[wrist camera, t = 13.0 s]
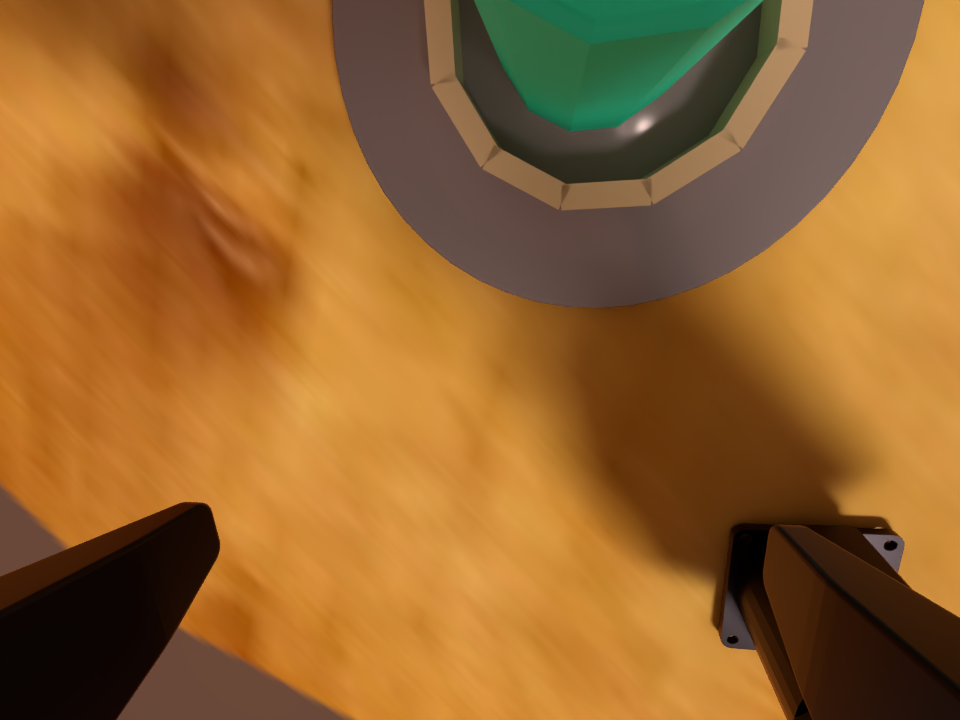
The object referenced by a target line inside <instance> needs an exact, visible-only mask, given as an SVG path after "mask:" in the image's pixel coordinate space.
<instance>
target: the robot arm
mask: <svg viewBox="0 0 960 720" xmlns="http://www.w3.org/2000/svg"><path fill="white" fill-rule="evenodd" d="M745 534H747V535H748V536H747V537H746V538H740V537H741V536H742V535H745ZM887 541H890V542H889V543H888V544H885V543H886V542H887ZM903 550H904V541H903V539H902V538H901V537H900V536H899V535H898V534H897V533H896V532H894V531H893V530H889V529H871V528H855V527H842V526H816V525H778V524H777V525H768V524H738V525H736V526H734V527H733V528H732V529H731V532H730V538H729V546H728V555H727V563H726V572H725V580H724V589H723V597H722V606H721V614H720V623H719V631H718V632H719V636H720V639H721V642H722V643H723V645H725V646H726V647H729V648H737V649H750V650H757V653H758V655H759V657H760V659H761V662H762V664H763V666H764V669H765V671H766V673H767V675H768V678H769V680H770V682H771V684H772V687H773V689H774V691H775V694H776V696H777V698H778V700H779V703H780V705H781V707H782V709H783V712H784V714H785V716H786V719H787V720H960V618H959V617H958V616H956V615H954V614H953V613H951V612H949V611H948V610H946V609H944V608H942V607H941V606H939V605H937V604H936V603H934V602H932V601H931V600H929V599H927V598H926V597H924V596H922V595H920V594H919V593H917V592H915V591H914V590H912V588H911V587H910V586H909V585H908V584H907V583H906V582H905V581H904V580H903V578H902V577H901V576H900V575H899V574H898V570H899V566H900V562H901V558H902V554H903ZM219 551H220V540H219V536H218V532H217V529H216V525H215V521H214V517H213V513H212V510H211V508H210V507H209V506H208V505H207V504H205V503H198V502H183V503H179V504H177V505H174V506H172V507H169V508H167V509H165V510H162V511H160V512H157V513H155V514H152V515H150V516H147V517H145V518H143V519H140V520H138V521H135V522H133V523H130V524H128V525H125V526H123V527H121V528H118V529H116V530H113V531H111V532H108V533H106V534H103V535H101V536H98V537H96V538H94V539H91V540H89V541H86V542H84V543H81V544H79V545H76V546H74V547H72V548H69V549H67V550H64V551H62V552H59V553H57V554H54V555H52V556H50V557H47V558H45V559H42V560H40V561H37V562H35V563H32V564H30V565H28V566H25V567H23V568H20V569H18V570H15V571H13V572H11V573H8V574H6V575H3V576H1V577H0V720H117V719H118V717H119V716H120V714H121V713H122V711H123V710H124V708H125V707H126V705H127V704H128V703H129V701H130V700H131V698H132V697H133V695H134V694H135V692H136V691H137V689H138V688H139V686H140V685H141V683H142V682H143V681H144V679H145V678H146V676H147V675H148V673H149V672H150V670H151V669H152V667H153V666H154V664H155V663H156V661H157V660H158V658H159V657H160V655H161V654H162V652H163V651H164V649H165V648H166V646H167V645H168V643H169V641H170V640H171V638H172V636H173V635H174V633H175V631H176V630H177V628H178V626H179V624H180V623H181V621H182V619H183V617H184V616H185V614H186V612H187V610H188V609H189V607H190V605H191V603H192V602H193V600H194V598H195V596H196V594H197V593H198V591H199V589H200V587H201V586H202V584H203V582H204V580H205V579H206V577H207V575H208V573H209V572H210V570H211V568H212V566H213V564H214V563H215V561H216V559H217V557H218V554H219ZM732 635H734V636H732ZM729 636H732V637H729Z"/></svg>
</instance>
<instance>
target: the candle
mask: <svg viewBox="0 0 960 720" xmlns="http://www.w3.org/2000/svg"><path fill="white" fill-rule="evenodd" d="M762 1H763V0H474V2H475V4H476V6H477V9H478V11H479V13H480V16H481V18H482V20H483V23H484V25H485V27H486V30H487V32H488V34H489V37H490V39H491V41H492V44H493V46H494V48H495V51H496V53H497V55H498V58H499V60H500V62H501V65H502V67H503V69H504V71H505V73H506V74H507V76H508V77H509V79H510V81H511V82H512V84H513V86H514V87H515V89H516V91H517V92H518V94H519V96H520V97H521V99H522V100H523V102H524V104H525V105H526V107H527V109H528V110H529V111H530V112H532V113H534V114H536V115H538V116H540V117H542V118H544V119H546V120H548V121H550V122H552V123H554V124H556V125H558V126H559V127H561V128H563V129H565V130H567V131H569V132H574V131H583V130H593V129H602V128H611V127H618V126H620V125H621V124H622V123H624V122H625V121H627V120H628V119H629V118H631V117H632V116H634V115H635V114H636V113H638V112H639V111H640V110H642V109H643V108H645V107H646V106H647V105H649V104H650V103H652V102H653V101H654V100H656V99H657V98H659V97H660V96H661V95H662V94H663V93H664V92H666V91H667V90H668V89H669V88H670V87H671V86H672V85H673V84H674V83H675V82H676V81H677V80H678V79H680V78H681V77H682V76H683V75H684V74H685V73H686V72H687V71H688V70H689V69H690V68H691V67H692V66H694V65H695V64H696V63H697V62H698V61H699V60H700V59H701V58H702V57H703V56H704V55H705V54H706V53H707V52H709V51H710V50H711V49H712V48H713V47H714V46H715V45H716V44H717V43H718V42H719V41H720V40H721V39H723V38H724V37H725V36H726V35H727V34H728V33H729V32H730V31H731V30H732V29H733V28H734V27H735V26H737V25H738V24H739V23H740V22H741V21H742V20H743V19H744V18H745V17H746V16H747V15H748V14H749V13H751V12H752V11H753V10H754V9H755V8H756V7H757V6H758V5H759V4H760V3H761V2H762Z"/></svg>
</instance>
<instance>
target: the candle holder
mask: <svg viewBox="0 0 960 720" xmlns="http://www.w3.org/2000/svg"><path fill="white" fill-rule="evenodd" d="M923 4H924V0H763V1H762V2H761V3H760V4H759V5H758V6H757V7H756V8H755V9H754V10H753V11H752V12H751V13H749V14H748V15H747V16H746V17H745V18H744V19H743V20H742V21H741V22H740V23H739V24H738V25H737V26H735V27H734V28H733V29H732V30H731V31H730V32H729V33H728V34H727V35H726V36H725V37H724V38H723V39H721V40H720V41H719V42H718V43H717V44H716V45H715V46H714V47H713V48H712V49H711V50H710V51H709V52H707V53H706V54H705V55H704V56H703V57H702V58H701V59H700V60H699V61H698V62H697V63H696V64H695V65H694V66H692V67H691V68H690V69H689V70H688V71H687V72H686V73H685V74H684V75H683V76H682V77H681V78H680V79H678V80H677V81H676V82H675V83H674V84H673V85H672V86H671V87H670V88H669V89H668V90H667V91H666V92H664V93H663V94H662V95H661V96H660V97H659V98H657V99H656V100H654V101H653V102H652V103H650V104H649V105H647V106H646V107H645V108H643V109H642V110H640V111H639V112H638V113H636V114H635V115H634V116H632V117H631V118H629V119H628V120H627V121H625V122H624V123H622V124H621V125H620V126H618V127H611V128H602V129H593V130H583V131H574V132H569V131H567V130H565V129H563V128H561V127H559V126H558V125H556V124H554V123H552V122H550V121H548V120H546V119H544V118H542V117H540V116H538V115H536V114H534V113H532V112H530V111H529V110H528V109H527V107H526V105H525V104H524V102H523V100H522V99H521V97H520V96H519V94H518V92H517V91H516V89H515V87H514V86H513V84H512V82H511V81H510V79H509V77H508V76H507V74H506V73H505V71H504V69H503V67H502V65H501V62H500V60H499V58H498V55H497V53H496V51H495V48H494V46H493V44H492V41H491V39H490V37H489V34H488V32H487V30H486V27H485V25H484V23H483V20H482V18H481V16H480V13H479V11H478V9H477V6H476V4H475V2H474V0H333V15H332V19H333V32H334V45H335V58H336V63H337V69H338V74H339V79H340V85H341V90H342V96H343V99H344V102H345V105H346V109H347V112H348V115H349V119H350V122H351V125H352V129H353V132H354V134H355V136H356V139H357V141H358V143H359V146H360V148H361V150H362V153H363V155H364V157H365V159H366V162H367V164H368V166H369V167H370V169H371V171H372V173H373V174H374V176H375V178H376V180H377V181H378V183H379V185H380V187H381V188H382V190H383V192H384V193H385V195H386V196H387V197H388V199H389V200H390V201H391V203H392V204H393V205H394V207H395V208H396V209H397V211H398V212H399V213H400V215H401V216H402V218H403V219H404V220H405V221H406V222H407V223H408V224H409V225H410V226H411V227H412V228H413V230H414V231H415V232H416V233H417V234H418V235H419V236H420V237H421V238H422V239H423V240H424V241H425V242H426V243H427V244H428V245H429V246H431V247H432V248H433V249H434V250H436V251H437V252H438V253H439V254H441V255H442V256H443V257H444V258H445V259H447V260H448V261H449V262H450V263H452V264H453V265H455V266H457V267H458V268H460V269H461V270H463V271H465V272H466V273H468V274H470V275H471V276H473V277H474V278H476V279H478V280H480V281H482V282H484V283H486V284H489V285H491V286H493V287H495V288H497V289H500V290H502V291H504V292H506V293H510V294H513V295H516V296H519V297H523V298H526V299H529V300H533V301H536V302H542V303H548V304H554V305H560V306H566V307H586V308H606V307H617V306H628V305H635V304H640V303H645V302H650V301H654V300H659V299H664V298H667V297H670V296H673V295H676V294H679V293H682V292H685V291H688V290H691V289H694V288H697V287H699V286H701V285H704V284H706V283H708V282H710V281H712V280H714V279H716V278H718V277H720V276H722V275H724V274H727V273H729V272H731V271H733V270H734V269H736V268H737V267H739V266H741V265H742V264H744V263H745V262H747V261H749V260H750V259H752V258H753V257H755V256H757V255H758V254H760V253H761V252H763V251H765V250H766V249H767V248H768V247H770V246H771V245H772V244H773V243H775V242H776V241H777V240H778V239H780V238H781V237H782V236H784V235H785V234H786V233H787V232H789V231H790V230H791V229H792V228H794V227H795V226H796V225H797V224H798V223H799V222H800V221H801V220H802V219H803V218H804V217H805V216H806V215H807V214H808V213H809V212H810V211H811V210H812V209H813V208H814V207H815V206H816V205H817V204H818V203H819V202H820V201H821V200H822V199H823V198H824V197H825V196H826V195H827V194H828V193H829V191H830V190H831V189H832V188H833V187H834V185H835V184H836V183H837V182H838V180H839V179H840V178H841V177H842V176H843V174H844V173H845V172H846V171H847V169H848V168H849V167H850V166H851V165H852V163H853V162H854V160H855V159H856V157H857V156H858V154H859V153H860V151H861V149H862V148H863V146H864V145H865V143H866V142H867V140H868V139H869V137H870V136H871V134H872V133H873V131H874V129H875V128H876V126H877V125H878V123H879V121H880V119H881V117H882V115H883V113H884V111H885V109H886V107H887V105H888V103H889V101H890V99H891V97H892V95H893V93H894V91H895V89H896V87H897V85H898V83H899V80H900V77H901V75H902V72H903V69H904V67H905V64H906V61H907V59H908V56H909V53H910V51H911V48H912V45H913V43H914V40H915V36H916V32H917V28H918V24H919V20H920V16H921V12H922V8H923Z"/></svg>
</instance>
